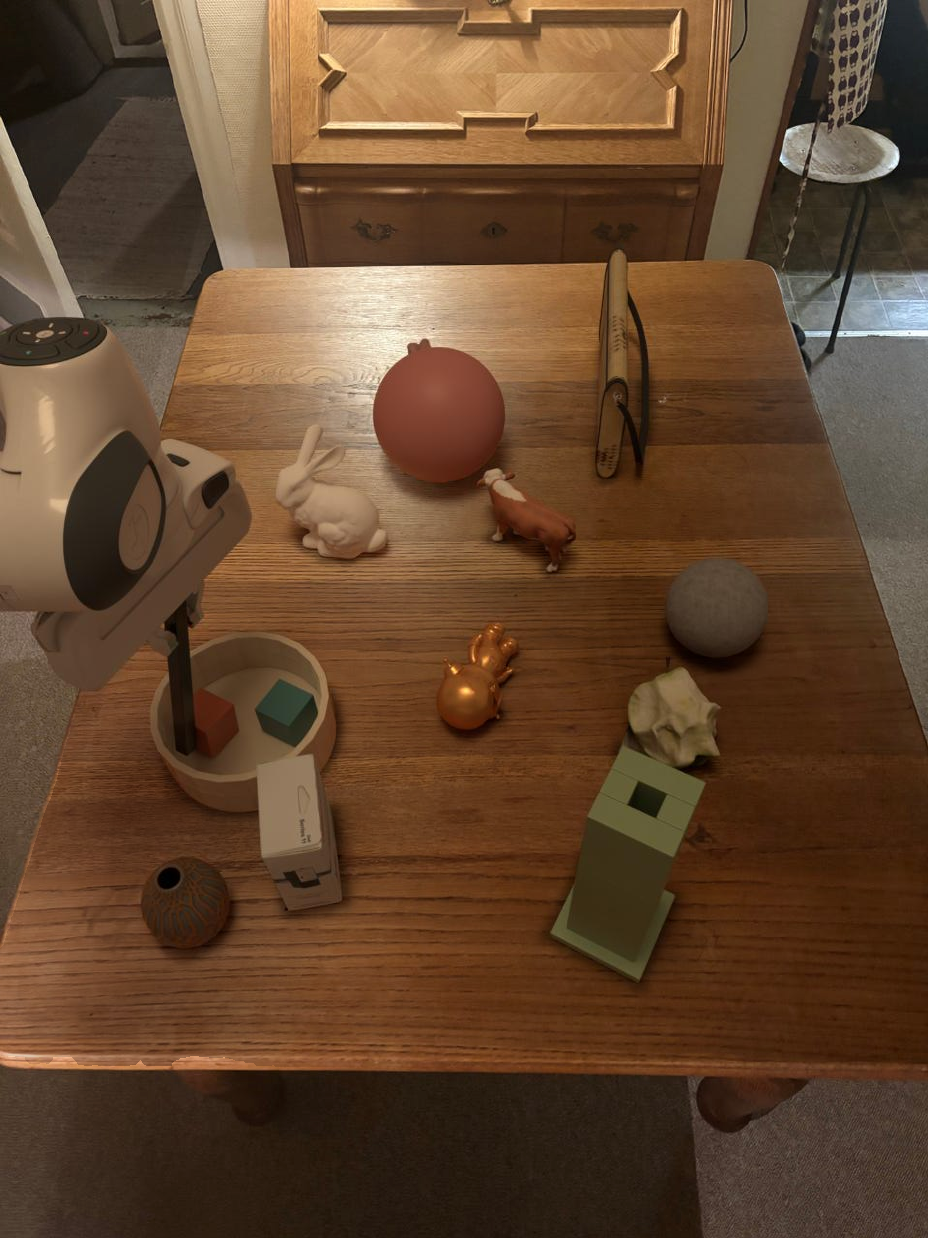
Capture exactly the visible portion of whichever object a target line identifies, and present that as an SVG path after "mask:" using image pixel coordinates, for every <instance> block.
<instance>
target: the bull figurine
mask: <svg viewBox="0 0 928 1238" xmlns="http://www.w3.org/2000/svg"><path fill="white" fill-rule="evenodd" d="M514 478H516V473H515V472H513V471H509V472H507V473H505V474H504V473H503V471H502V470H501V469H500V468H493V469H489V470H486V471H485V472H484V474H483V478H481V479H479V480H478V481H477V482H476V486H477V487H478V488H482V487H484V486H486V487H487V489H488V494H489V497H490V500H491V504H492V506H493V508H492V509H493V515H494V516H495V518H496V519H497V524H498V525H497V527H496V532H495V534H493V535H491V540H492V542H500V541H503V539H504V536H503V534H504V533H505V532H506V530H507V529H508V528H509V527H511V528H512V533H513V534H514V535H515V536H517V535H518V536H519V535H520V536H522V537H523V538H527V539H530V540H539V541H540V542H541V543H542V544H544V550H545V551H546V552H548V553H549V555H550V558H551V562H550V564H548V565H547V566H546V567H545V571H546V572H547V573H552V572H553V571H554V572H557V570H558V566H559V563H560V562H561V561H562V560H563V559H562V557H563V556H562V555H561V551H562V552H563V553H565V552H569V550H570V548H571V546H572V543H573V542H575V541H576V539H577V532H576V523H575V521H574V520H573V519H572V518H571V517H569V516H568V515H566V514H564V513H562V512H560V511H559V510H558V509H556V508H554V507H553V506H549V505H547V504H545V503H544V502H542V501H540V500H538V499H537V498H534V497H532V496H531V495H529V494H528V493H527V492H525V491H523V490H521V489H519V488H515V487H513V486H512V485H511V483H510V482H508V481H509V480H512V479H514ZM570 537H571V538H570Z"/></svg>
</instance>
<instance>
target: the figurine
mask: <svg viewBox="0 0 928 1238" xmlns="http://www.w3.org/2000/svg"><path fill="white" fill-rule="evenodd" d="M505 633H506V627H505V625H504V624H503V623H501V622H499V621H492V622H489V623H488V624H487V625H486V626H484V628H483V630H482V633H479V634H475V635H474V636H473V637H472V638H471V639H470V640H469V642H468V646H467V648H468V649H467V651H468V654H467V658H468V664H464V665H463V664H461V663H459V662H457V661H454V662H451V663H450V662H449V659H448V658H447V657H444V658H443V659H442V662H443V663H444V664H446V666H445V668H444V669H443V677H444V679H443V681H442V682H441V684H440V685H439V688H438V690H437V693H436V699H435V700H436V708H437V711H438V713H439V714H440V717H441V718H442V719H443V720H444V721H445V722H446V723H447V724H449V725H450V726H451V727H453V728H455V729H459V730H465V731H466V730H473V729H476V728H478V727H480V726H482V725H483V724H485V723H486V721H488V720H491V719H493V718H495V719H496V720H499V719H501V715H500V714H498V710H499V708H500V706H501V704H502V700H503V697H504V694H503V693H502V691H501V689H500V685H499V684H502V683H504V682H506V680H507V679H508V678H509V676H510V675H512V674H513V673H514V672H515V669H514V667H509V666H507V664H508V663H507V662H509V660H510V657H511V656H513V655H514V654H516V653H517V652H518V650H519V648H520V644H519V642H518V641H517V639H516V638H513V637H510V636H509V637H504V638H502V637H503V636H504V635H505ZM501 638H502V639H501Z"/></svg>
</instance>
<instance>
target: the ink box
mask: <svg viewBox="0 0 928 1238" xmlns="http://www.w3.org/2000/svg"><path fill="white" fill-rule="evenodd" d="M257 787H258V806H259V810H258V824H259V841H260V842H259V843H260V845H259V846H260V858H261V859H262V861H263V863H264V865H265V866H266V868H267V871H268V872H269V874H270V877H271V878H272V881H273V883H274V885H275V886H276V889H277V890H278V892H279V894H280V896H281V898H282V900H283V902H284V904H285V906H286V908H287V910H288V911H289V912H291V911H298V910H304V909H305V910H306V909H311V908H316V907H322V906H326V905H332V904H337V903H341V902H342V901H343V890H342V883H341V873H340V866H339V857H338V849H337V839H336V832H335V823H334V816H333V811H332V808H331V805H330V801H329V798H328V795H327V792H326V788H325V786H324V783H323V779H322V776H321V772H320V773H319V770H318V767H317V764H316V761H315V758H314V755H313V754H308V755H303V756H297V757H291V758H285V759H279V760H273V761H267V762H263V763H258V764H257Z"/></svg>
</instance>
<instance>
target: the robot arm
mask: <svg viewBox="0 0 928 1238" xmlns="http://www.w3.org/2000/svg"><path fill="white" fill-rule="evenodd" d="M0 413H1V415H2V418H3V420H4V422H5V440H4V442H5V443H4V446H3V450H0V613H1V612H4V613H5V612H6V613H7V612H8V613H9V612H11V613H13V612H15V613H17V612H18V613H19V612H25V613H29V612H30V613H32V612H33V613H35V612H36V614H35V616H34V618H33V621H32V622H31V624H30V632H31V635H32V636H33V637H34V639H35V641H36V642H37V645H39V647H40V648H41V649H42V650H43V652H44V654H45V657H46V659H47V661H48V664H49V665H50V668H51V669H52V670H53V672H54V674H55V675H56V676H57V677H58V678H59V679H60V680H62V681H64V682H66V683H67V684H68V685H70V686H72V687H74V688H76V689H79V690H80V691H83V692H99V691H100V690H102V689H104V688H105V686H106V685H107V684H109V682H110V680H112V679H113V678H114V676H115V675H117V673H118V672H119V671H120V670H121V669H122V668H123V667H124V666H125V665H126V664H127V663H128V662H129V660H130V659H131V658H132V657H133V656H134V655H135V654H136V653H137V652H138V651H139V650H140V649H141V647H143V646H144V645H145V643H147V644H148V645H149V646H150V648H151V649H152V650H153V651H154V652H155V653H157V654H159V655H161V656H163V657H165V658H167V657H168V656H169V655H170V654H171V652H172V651H173V650H174V649H175V648H176V647H177V645H178V644H179V643H178V641H176V636H175V634H174V633H172V632H170V631H165V629H164V627H162V625H164V622H165V621H166V620H167V619H168V618H169V616H170V615H171V614H172V613H173V612H174V611H175V610H176V609H177V608H178V607H179V606H180V605H181V604H182V603H183V602H184V600H185V599H186V605H187V619H188V629H194V628H195V627H196V626H197V625H198V624H199V623H200V622H201V621H202V620H203V619H204V617H205V614H204V612H203V609H202V606H201V605H202V601H203V596H204V592H205V591H204V590H205V585H206V584H205V581H204V580H205V579H206V578H207V577H209V575H210V574H211V573H212V572H213V571H214V570H215V569H216V568H217V566H218V565H219V564H221V562H222V561H223V560H224V559H225V558H226V557H227V556H228V555H229V554H230V553H231V551H232V550H234V548H235V547H236V546H237V545H238V544H239V543H240V542H241V541H242V540H243V539H244V538H245V537H246V536H247V535H248V534H249V532H250V529H251V526H252V521H253V513H252V508H251V505H250V502H249V499H248V496H247V494H246V492H245V489H244V486H243V485H242V483H241V482H240V481H239V480H237V472H236V468H235V465H234V463H233V462H231V461H229V460H228V459H226V458H225V457H223V456H221V455H219V454H217V453H214V452H212V451H209V450H207V449H205V448H203V447H200V446H197V445H194V444H192V443H188V442H185V441H182V440H178V439H174V438H166V439H164V440H162V430H161V426H160V423H159V419H158V418H157V415H156V412H155V409H154V407H153V404H152V402H151V399H150V397H149V395H148V392H147V390H146V388H145V385H144V383H143V381H142V379H141V377H140V375H139V373H138V371H137V368H136V367H135V365H134V363H133V361H132V360H131V357H130V356H129V354H128V353H127V351H126V349H125V348H124V346H123V345H122V342H121V341H120V340H119V339H118V337H117V336H116V335H115V333H114V332H113V331H112V330H111V329H110V328H109V327H108V326H107V325H105V324H103V323H101V322H100V321H97V320H94V319H90V318H87V317H78V316H77V317H76V316H51V317H50V316H49V317H38V318H32V319H30V320H26V321H23V322H20V323H18V322H17V323H14V324H12V325H10V326H8V327H6V328H5V329H3V330H1V331H0Z"/></svg>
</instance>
